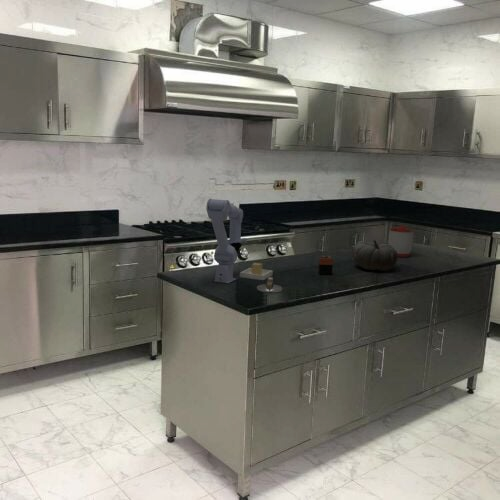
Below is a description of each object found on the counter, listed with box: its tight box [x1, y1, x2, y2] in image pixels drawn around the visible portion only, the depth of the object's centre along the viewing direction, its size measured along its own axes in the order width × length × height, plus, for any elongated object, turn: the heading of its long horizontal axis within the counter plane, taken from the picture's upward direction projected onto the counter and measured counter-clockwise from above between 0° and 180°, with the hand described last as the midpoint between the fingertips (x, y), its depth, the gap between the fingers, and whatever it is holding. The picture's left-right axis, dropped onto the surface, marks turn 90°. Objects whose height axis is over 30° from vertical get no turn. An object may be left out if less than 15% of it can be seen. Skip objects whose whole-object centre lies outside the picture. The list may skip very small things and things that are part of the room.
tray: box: [239, 267, 274, 281], centre depth 280 cm, size 13×13×2 cm
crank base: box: [256, 283, 283, 293], centre depth 257 cm, size 12×12×1 cm
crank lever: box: [265, 275, 274, 289], centre depth 259 cm, size 16×3×3 cm, turn 176°
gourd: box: [352, 239, 399, 272], centre depth 308 cm, size 25×25×17 cm
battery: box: [318, 255, 334, 276], centre depth 290 cm, size 4×7×10 cm, turn 92°
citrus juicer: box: [387, 224, 416, 258], centre depth 348 cm, size 16×17×20 cm
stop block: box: [251, 262, 263, 275], centre depth 280 cm, size 4×4×6 cm
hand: (234, 257), depth 279 cm, fingers closed
